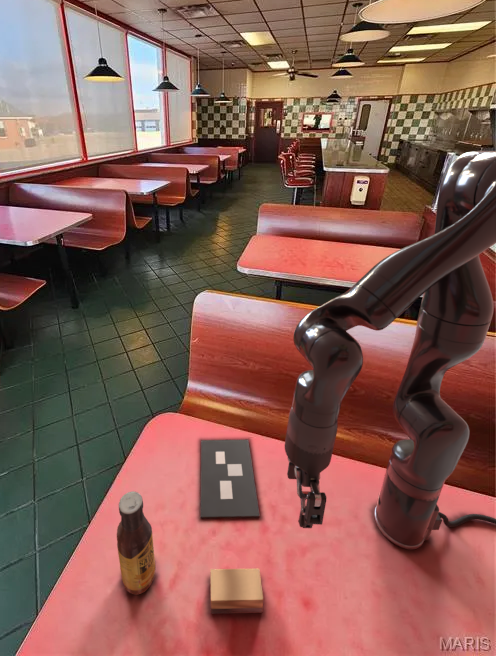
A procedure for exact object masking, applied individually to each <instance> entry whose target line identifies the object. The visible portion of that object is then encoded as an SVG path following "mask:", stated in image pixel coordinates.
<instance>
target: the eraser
mask: <svg viewBox="0 0 496 656" xmlns="http://www.w3.org/2000/svg"><path fill="white" fill-rule="evenodd" d="M209 571H210V572H209V573H210V577H209V578H210V579H209V580H210V615H211V614H216V615H219V614H262V613H263V608H264V592H263V586H262V579H261V578H262V577H261V571H260V568H257V567H256V568H255V567H254V568H210V569H209Z"/></svg>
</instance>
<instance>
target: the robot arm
mask: <svg viewBox="0 0 496 656" xmlns="http://www.w3.org/2000/svg"><path fill="white" fill-rule="evenodd" d="M494 245H496V150H471V151H466V152H465V153H461V154H460V155H459V156H458V157H456V158H455V159H454V160H453V161H452V162H451V164H450V165H449V166H448V168H447V169H446V171H445V173H444V175H443V177H442V180H441V183H440V187H439V192H438V197H437V205H436V213H435V223H434V234H431V235H430V236H428V237H425V238H424V239H421V240H419V241H417V242H414V243H412V244H410V245H407V246H405V247H403V248H402V247H401V248H400V249H398V250H396V251H394V252H392V253H390V254H389V255H388V256H385V257H384V258H383V259H381V260H380V261H378V262H377V263H376V264H375V265H374V266H372V267H371V268H370V269H369V270H368V271H367V272H366V273H364V274H363V276H362V277H361V278H359V280H357V281H356V282H355V283H354V285H352V286H351V287H350V288H349V289H348V290H346V291H345V292H344V293H342V294H339V295H337V296H336V297H334V298H332V299H330V300H328V301H327V302H325V303H323V304H321V305H319V306H318V307H316V308H314V309H313V310H311V311H309V312H308V313H307V314H305V315H304V316H303V317H302V318H301V319H300V321H299V322H298V323H297V324H296V327H295V328H294V332H293V336H292V341H293V344H294V346H295V348H296V350H297V351H298V353H300V355H301V356H302V357H303V358H304V359H305V361H306V362H307V363H308V364H309V365H310V366H311V368H312V369H308V370H304V371H303V372H301V373H300V374H299V375H298V376H297V378H296V381H295V384H294V389H293V397H292V402H291V407H290V410H289V413H288V419H287V424H286V425H287V426H286V432H285V440H284V451H285V455H286V456H287V461H288V466H287V473H286V475H287V479H289V480H296V493H297V496H298V498H299V499H300V511H299V517H298V525H299V527H300V528H302V529H312V528H313V526H314V525H323V522H324V516H325V512H326V511H325V510H326V506H327V495H326V493H325V492H323V491H320V490H321V489H320V488H321V487H320V480H321V473H322V472H323V471H324V470H326V469H327V468H328V467H329V466H330V464H331V461H332V456H333V452H334V448H335V443H336V438H337V433H338V427H339V426H338V425H339V423H338V421H339V416H340V413H341V412H340V411H341V408H342V407H341V406H342V401H343V399H344V398H345V396H346V394H347V393H348V392H349V390H350V388H351V387H352V386H353V383H354V382H355V381H356V379H357V378H358V376H359V375H360V373H361V371H362V369H363V366H364V353H363V349H362V346H361V344H360V342H359V341H358V340H357V339H356V338H355V337H354V336H352V334H350V333H349V332H348V331H349V330H351V329H353V328H355V327H365V328H367V329H369V330H372V331H376V332H377V331H378V332H379V331H382V330H385V329H386V328H387V327H389V325H391V324H392V323H393V322H395V320H396V319H398V317H400V316H401V315H402V314H403V313H404V312H405V311H406V310H407V309H409V308H410V307H411V306H412V305H413V304H414V303H415V302H416V301H417V300H418V299H420V298H421V296H422V299H421V303H420V308H419V312H418V316H417V321H416V324H415V325H416V327H415V331H414V332H415V333H414V335H413V340H412V345H411V348H410V352H409V356H408V360H407V364H406V367H405V370H404V372H403V375H402V378H401V380H400V383H399V385H398V388H397V391H396V393H395V397H394V400H393V403H392V414H393V416H394V420H395V421H396V423H397V424H398V425H399V427H400V428H401V430H403V432H404V433H405V434H406V436H407V437H408V438H403V439H400V440H397V441H396V442H395V443H394V444H393V445H392V447H391V451H390V455H389V458H388V462H387V465H386V470H385V473H384V477H383V479H382V484H381V488H380V491H379V494H378V496H377V497H378V498H377V503H376V506H375V508H374V513H373V517H374V521H375V524H376V526H377V528H378V529H379V531H380V533H381V534H382V535H383V536H384V537H385V538H386V539H387V540H388V541H389V542H390V543H392V544H393V545H395V546H397V547H399V548H402V549H406V550H416V549H418V548H420V547H421V546H423V544H424V541H429V539H430V537H431V534H432V531H439V530H440V527H441V525H442V522H443V523H444V524H443V525H445V526H447V527H448V528H455V527H458V526H461V525H463V524H464V523H467V522H469V521H473V520H475V521H485V522H487V523H488V522H489V523H491V524H495V525H496V518H495V517H493V516H489V515H486V514H485V515H484V514H481V513H480V514H479V513H468V514H465V515H463V516H460V517H458V518H456V519H454V520H451V521H450V520H449V518H448V516H447V515H446V514H445V513H443V512H441V511H440V508H439V505H438V501H439V498H440V496H441V493H442V491H443V487H444V484H445V482H446V480H447V479H449V477H450V476H451V475H452V474H453V473H454V471H455V469H456V468H457V465H458V463H459V461H460V459H461V458H462V457H461V456H462V455H463V453H464V451H465V449H466V447H467V444H468V442H469V439H470V427H469V425H468V423H467V421H466V420H464V418H463V417H462V416H461V415H460V414H459V413H458V412H456V411H455V410H454V409H453V407H452V406H450V405H449V404H448V403H447V402H446V401H445V400H444V399H443V398H442V396H441V387H442V383H443V379H444V376H445V375H446V373H447V372H448V371H449V370H450V369H452V368H454V367H456V366H458V365H459V364H461V363H463V362H466V361H467V360H469V359H470V358H472V357H474V355H476V354H478V352H479V351H480V350H481V349H482V347H483V345H484V343H485V341H486V338H487V336H488V332H489V328H490V325H491V322H492V319H493V315H494V311H495V310H494V309H495V308H494V299H493V294H492V290H491V288H490V284H489V281H488V279H487V276H486V273H485V271H484V268H483V265H482V261H481V258H480V255H481V254H482V253H484V252H485V251H487V250H488V249H490V248H491V247H493V246H494ZM303 487H304V488H309V491H308V490H307V491H304V490H303Z"/></svg>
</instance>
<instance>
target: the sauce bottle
mask: <svg viewBox="0 0 496 656" xmlns="http://www.w3.org/2000/svg"><path fill="white" fill-rule="evenodd" d="M118 513H119V515H120V522H119V523H118V526H117V529H116V546H117V547H116V548H117V555H118V561H119V568H120V574H121V576H120V577H121V581H122V583H123V586H124V588H125V590H126V591H127V592H128V593H129V594H131V595H136V596H137V595H141V594H143V593H145V592H146V591H147V590H148V589H149V588H150V587H151V585H152V583H153V581H154V579H155V572H156V558H155V549H154V538H153V537H154V536H153V528H152V524H151V523H150V522H149V520H148V519H147V518H146V516H145V514H144V500H143V496H142V495H141V493H139V492H138V491H135V490H133V491H128V492H126V493H125V494H123V495H122V497H120V499H119V502H118Z"/></svg>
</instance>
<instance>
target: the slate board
mask: <svg viewBox="0 0 496 656" xmlns="http://www.w3.org/2000/svg"><path fill="white" fill-rule="evenodd" d="M200 442H201V443H200V450H201V451H200V519H227V518H230V519H231V518H232V519H234V518H236V519H237V518H260V517H261V515H260V509H259V502H258V497H257V496H258V495H257V489H256V481H255V474H254V468H253V462H252V454H251V449H250V441H249V439H201V441H200Z"/></svg>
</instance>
